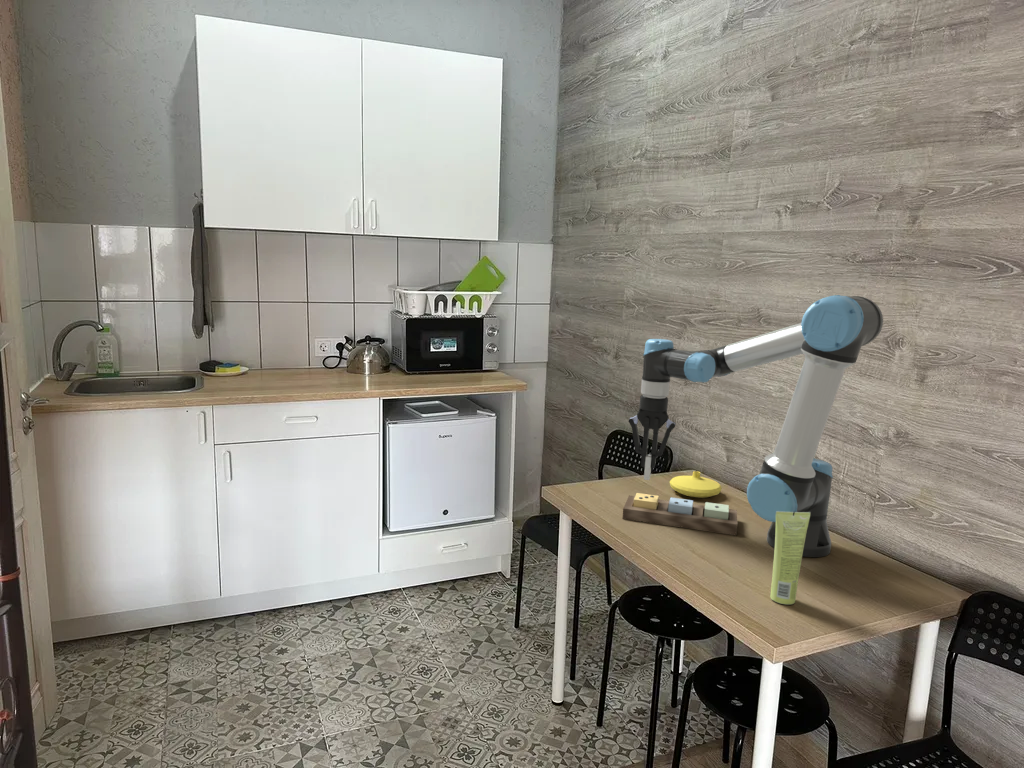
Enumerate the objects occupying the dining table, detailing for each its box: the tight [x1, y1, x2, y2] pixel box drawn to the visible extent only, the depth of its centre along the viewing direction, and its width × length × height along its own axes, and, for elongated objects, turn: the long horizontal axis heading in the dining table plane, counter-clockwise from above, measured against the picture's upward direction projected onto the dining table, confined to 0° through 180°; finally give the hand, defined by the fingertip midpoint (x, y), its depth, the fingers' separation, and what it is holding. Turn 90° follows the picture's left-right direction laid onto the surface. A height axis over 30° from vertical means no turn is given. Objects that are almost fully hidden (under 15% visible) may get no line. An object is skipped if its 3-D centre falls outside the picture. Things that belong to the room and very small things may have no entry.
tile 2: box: [668, 497, 694, 515], centre depth 190 cm, size 6×6×3 cm
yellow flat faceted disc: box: [669, 470, 722, 499], centre depth 214 cm, size 16×16×7 cm
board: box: [622, 495, 739, 536], centre depth 190 cm, size 30×12×3 cm, turn 73°
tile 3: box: [633, 492, 659, 510], centre depth 193 cm, size 6×6×3 cm
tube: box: [769, 511, 810, 606], centre depth 144 cm, size 6×5×20 cm
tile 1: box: [704, 501, 730, 520], centre depth 187 cm, size 6×6×3 cm
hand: (646, 478), depth 192 cm, fingers closed
